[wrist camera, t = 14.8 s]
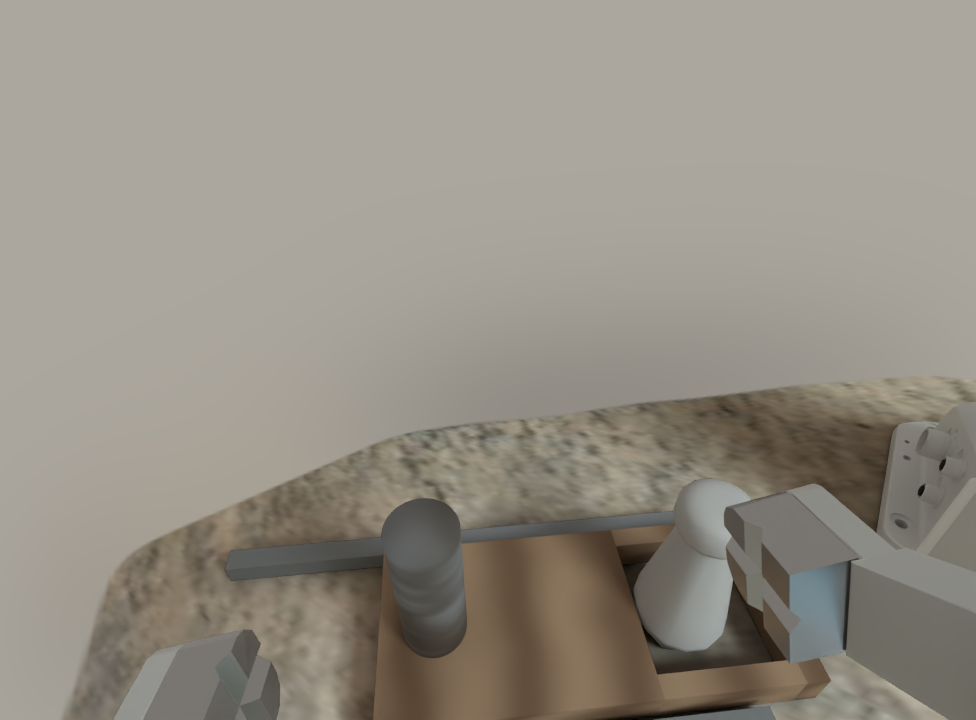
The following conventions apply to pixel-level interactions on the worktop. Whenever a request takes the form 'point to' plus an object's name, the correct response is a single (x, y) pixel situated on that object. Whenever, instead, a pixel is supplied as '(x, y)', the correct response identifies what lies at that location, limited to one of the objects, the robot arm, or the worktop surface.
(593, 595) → the wooden tray on runners
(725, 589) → the salt shaker
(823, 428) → the worktop surface
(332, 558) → the rails
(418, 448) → the worktop surface
